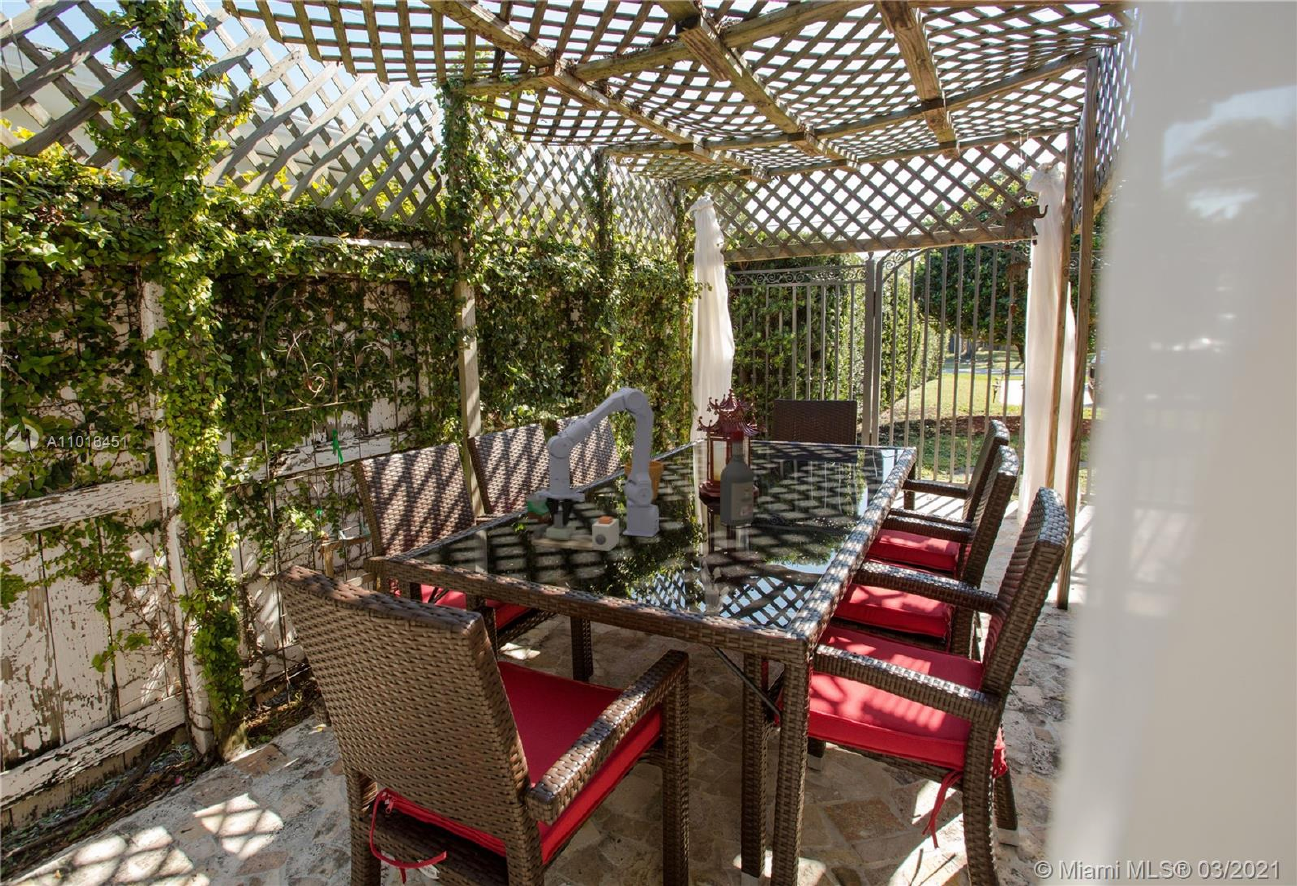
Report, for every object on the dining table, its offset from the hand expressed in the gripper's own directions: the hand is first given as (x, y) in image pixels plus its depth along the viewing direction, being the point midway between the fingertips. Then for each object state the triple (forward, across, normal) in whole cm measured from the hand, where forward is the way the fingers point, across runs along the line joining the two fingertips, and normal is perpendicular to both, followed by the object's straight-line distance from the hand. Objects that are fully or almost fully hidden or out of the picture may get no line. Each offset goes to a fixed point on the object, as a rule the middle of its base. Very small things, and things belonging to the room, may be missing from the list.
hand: (560, 523), depth 193 cm
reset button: (-1, +14, 0) cm, 14 cm away
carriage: (+4, 0, 0) cm, 4 cm away
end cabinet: (+5, +14, 0) cm, 15 cm away
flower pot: (+6, +8, +56) cm, 57 cm away
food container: (+6, -15, +19) cm, 25 cm away
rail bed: (+5, +2, 0) cm, 6 cm away
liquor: (+6, +46, +32) cm, 56 cm away
